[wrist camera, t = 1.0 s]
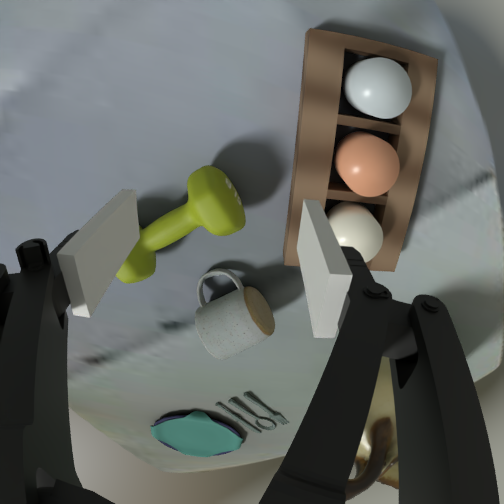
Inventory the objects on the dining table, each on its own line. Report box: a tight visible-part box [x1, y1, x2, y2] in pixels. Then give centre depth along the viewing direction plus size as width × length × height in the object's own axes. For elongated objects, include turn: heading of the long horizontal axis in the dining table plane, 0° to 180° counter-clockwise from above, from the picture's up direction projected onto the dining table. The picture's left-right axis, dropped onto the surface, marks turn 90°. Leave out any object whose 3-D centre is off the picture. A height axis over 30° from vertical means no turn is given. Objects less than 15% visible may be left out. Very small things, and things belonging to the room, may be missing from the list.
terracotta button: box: [334, 131, 400, 197], centre depth 31 cm, size 6×6×4 cm
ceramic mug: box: [195, 268, 275, 360], centre depth 40 cm, size 11×8×8 cm
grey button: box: [343, 57, 412, 119], centre depth 27 cm, size 6×6×4 cm
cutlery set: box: [151, 392, 289, 457], centre depth 61 cm, size 20×30×2 cm, turn 125°
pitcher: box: [345, 356, 399, 501], centre depth 40 cm, size 22×24×25 cm
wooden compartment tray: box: [283, 28, 438, 272], centre depth 33 cm, size 26×14×3 cm, turn 176°
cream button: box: [326, 201, 383, 263], centre depth 35 cm, size 6×6×4 cm
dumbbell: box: [116, 165, 246, 283], centre depth 35 cm, size 16×8×7 cm, turn 119°
